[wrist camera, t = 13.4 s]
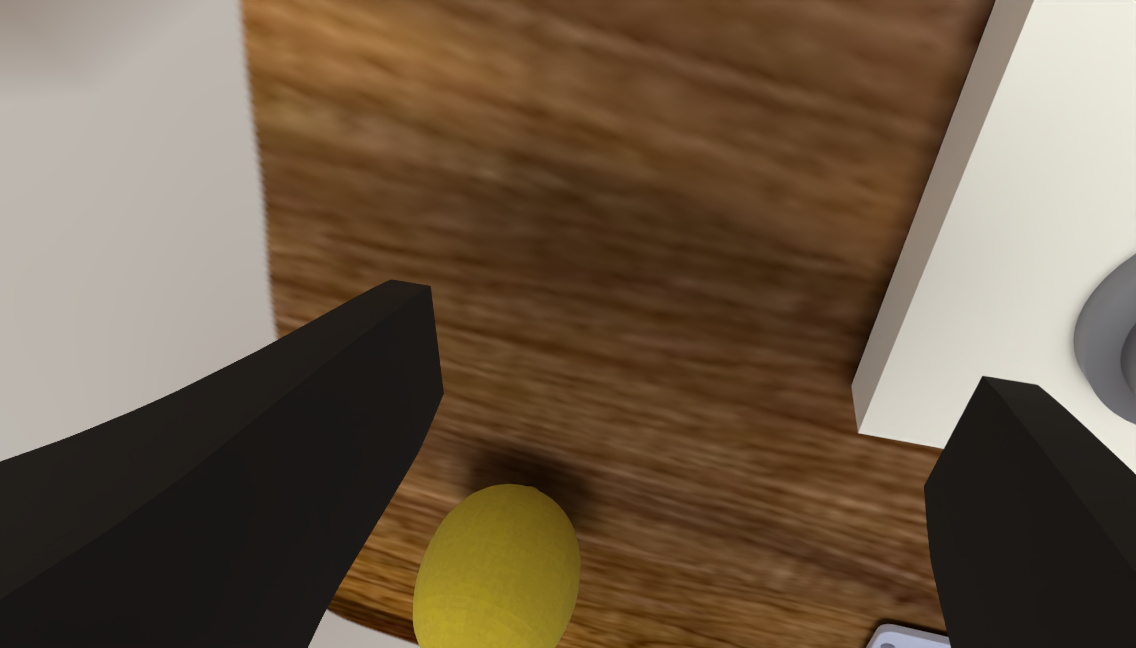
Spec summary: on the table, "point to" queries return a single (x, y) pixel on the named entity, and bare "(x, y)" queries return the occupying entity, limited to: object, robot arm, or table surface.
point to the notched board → (1021, 236)
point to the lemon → (498, 573)
